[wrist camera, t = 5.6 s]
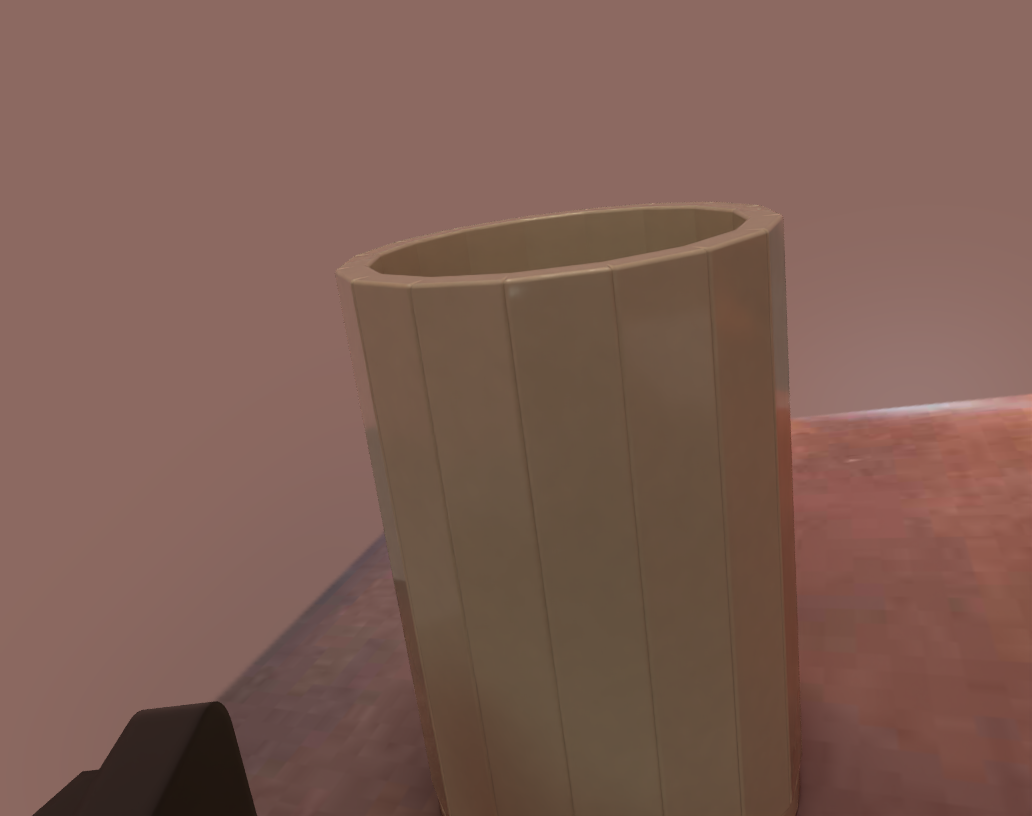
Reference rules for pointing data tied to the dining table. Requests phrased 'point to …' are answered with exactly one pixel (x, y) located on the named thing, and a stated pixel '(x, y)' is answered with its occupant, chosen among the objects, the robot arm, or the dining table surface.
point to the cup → (590, 506)
